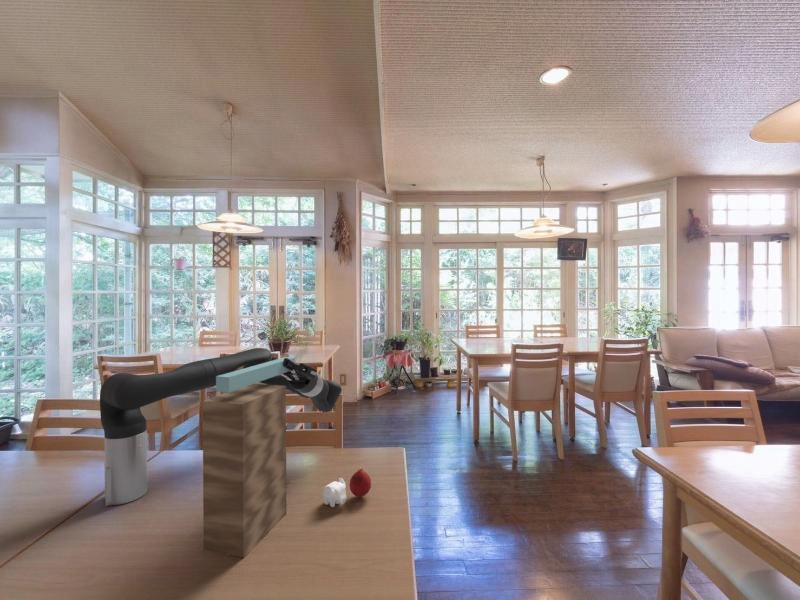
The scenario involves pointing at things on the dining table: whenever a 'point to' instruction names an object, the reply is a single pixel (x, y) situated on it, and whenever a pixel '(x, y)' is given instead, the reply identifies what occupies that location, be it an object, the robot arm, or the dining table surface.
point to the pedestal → (243, 467)
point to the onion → (360, 483)
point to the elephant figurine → (334, 493)
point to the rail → (250, 375)
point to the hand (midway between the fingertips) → (278, 361)
